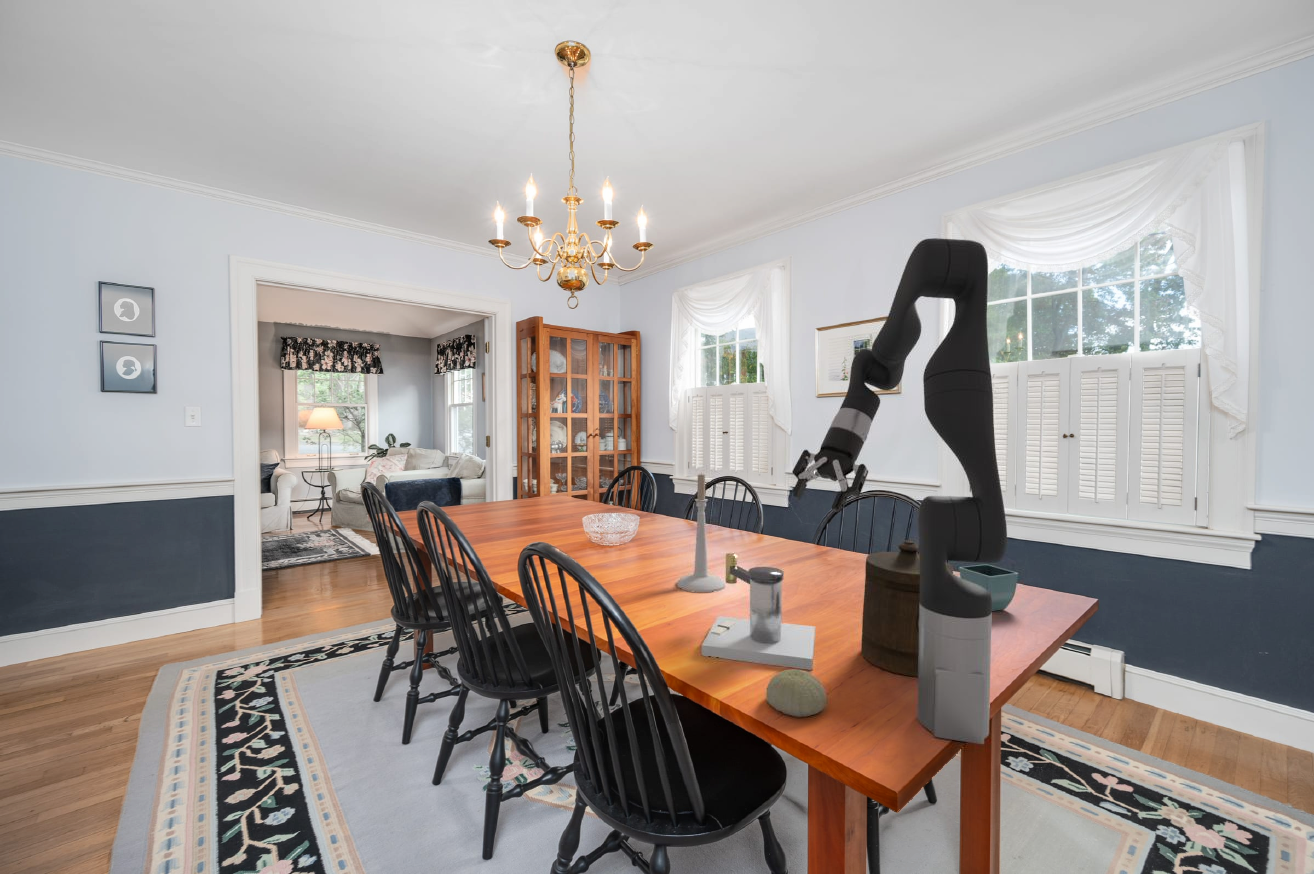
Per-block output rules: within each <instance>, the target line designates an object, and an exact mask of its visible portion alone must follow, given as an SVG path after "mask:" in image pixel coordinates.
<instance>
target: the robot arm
mask: <svg viewBox="0 0 1314 874" xmlns="http://www.w3.org/2000/svg"><path fill="white" fill-rule="evenodd" d="M988 286H989V262H988V255H987V251H986V248H985V246H984V244H982V242H979V241H978V240H971V239H956V238H955V239H954V238H953V239H951V238H940V237H938V238H937V237H935V238H934V237H933V238H926V239H923V240H921V241H919V242H918V243H917V244H916V245H915V246H914V249H913V250H912V252H911V254H910V255H909V258H908V259H907V262H906V264H905V266H904V269H903V272H902V275H901V278H900V281H899V283H898V285H897V289H896V292H895V295H894V298H893V301H892V304H891V306H890V310H889V313H888V315H887V318H886V319H885V322H883V323H884V324H883V325H882V327H881V328H880V330H879V332H878V334H877V335H876V337H875V339H874V340H873V342H872V346H871V348H867V347H866V348H863V349H861V350H859V351H858V352H857V353H856V354H855V356H854V357H853V359H852V361H851V367H850V376H849V383H848V388H847V392H846V394H845V397H844V398H843V401H842V403H841V406H840V408H839V409H838V412H837V413H836V414H835V416H834V418H833V420H832V421H831V424H830V426H829V428H828V430H827V433H826V434H825V436H824V438H823V441H822V443H821V445H820V449H819V451H818V452H817V453H816V454H815V453H813V452H810V451H809V450H808V449H803V451H802V453H801V455H800V456H799V458H798V460H797V462H796V463H795V464H794V468H793V469H792V474H793V475H794V477H795V478H796V479H797V481H796V483H795V486H794V487H793V490H792V493H793V497H794V498H795V499H796V500H801V499H802V497H803V495H804V493H805V491H806V488H807V486H808V483H810V482H811V481H813V480H817V479H819V478H820V477H821V478H822V479H829V480H831V481H833V482H837V481H838V483H839V484H838V485H839V488H840V490H838V492H837V494H836V496H835V498H834V501H833V502H832V505H831V509H832V511H834V512H836V513H838V512H839V511H842V510H843V509H844V507H845V504H846V503H847V500H848V498H849V496H855V497H859V496H860V495H861V493H862V490H863V488H864V485H865V483H866V480H867V477H868V474H869V470H868V468H867V466H866V464H864V463H860V464H856V462H857V459H858V458H859V456H860V453H861V451H862V449H863V447H864V444H865V442H866V441H867V439H868V436H869V433H870V431H871V426H872V424H873V420H874V418H875V417H876V415H877V412H878V410H879V408H880V405H881V398H880V396H879V395H878V394H877V393H876V392H875V391H873V390H872V389H870V388H869V387H868V386H867V385H869V386H872V387H874V388H876V389H879V390H881V391H891V390H893V389H895V388H896V387H898V385H899V384H901V383H900V382H901V381H902V378H903V375H904V371H905V364H906V363H905V362H906V359H907V357H908V356H909V355H910V353H911V352H912V351H913V349H914V348H915V346H916V344H917V343H918V341H919V340H920V338H921V333H922V322H921V317H920V315H919V313H918V309H917V306H916V302H917V300H919V298H922V297H925V298H933V299H934V298H937V299H951V300H953V302H954V304H955V307H954V308H955V311H954V318H953V323H952V325H951V327H950V329H949V331H948V332H947V334H946V335H945V337H944V338H943V340H941V343H940V344H939V345H938V347H937V348H936V349H935V351H934V352H933V354H932V355H931V357H930V358H929V360H928V361H927V363H926V365H925V369H924V371H923V377H922V378H923V379H922V381H923V398H924V399H923V402H924V403H923V404H924V412H925V415H926V417H927V419H928V421H929V424H931V426H932V428H933V429H934V430H935V432H936V433H937V434H938V435H939V437H940V438H941V439H942V441H943V442H944V443H945V444H946V445H947V447H948V448H949V449H950V450H951V452H952V453H953V454H954V456H955V457H956V458H957V460H958V461H959V464H960V465H961V467H962V469H963V470H964V472H965V475H966V477H967V481H968V483H969V487H970V491H971V495H972V496H954V495H953V496H952V495H929V496H926V497H924V498H923V499H922V501H921V503H920V505H919V509H918V516H917V517H918V518H917V520H918V521H917V525H918V527H917V528H918V543H919V544H918V547H919V548H918V551H919V553H918V554H919V555H920V597H919V648H918V677H917V719H918V722H919V723H920V724H921V725H922V726H923V727H924V728H925V729H927V730H929V732H931V733H932V734H933V736H934V737H935V738H940V739H946V740H952V741H959V742H965V743H966V742H967V743H971V744H972V743H973V744H979V745H984V744H985V739H987V738H988V737H989V735H990V710H991V709H990V707H991V705H990V702H991V701H990V700H991V699H990V698H991V654H992V620H993V619H992V615H993V613H992V612H993V611H992V598H991V595H990V593H989V592H988V591H987V590H986V589H984V588H983V587H981V586H979V585H977V584H974V583H972V582H969V581H967V580H964V579H962V578H960V576H958V575H956V574H954V573H953V574H952V573H951V572H949V571H948V570H947V569H946V562H947V561H950V562H965V563H978V564H979V563H980V564H996V563H999V562H1001V561H1002V560H1003V558H1004V557H1005V554H1006V550H1007V546H1008V545H1007V544H1008V531H1007V530H1008V529H1007V518H1006V513H1005V505H1004V500H1003V492H1002V487H1001V481H1000V474H999V473H1000V472H999V467H998V461H997V460H998V459H997V453H996V451H997V450H996V439H995V438H996V437H995V425H994V424H995V421H994V395H993V394H994V393H993V379H992V373H991V364H990V353H989V352H990V351H989V337H988V291H989V290H988V288H989V287H988ZM813 461H814V463H813ZM812 463H813V464H812ZM809 464H812V465H810V466H809ZM852 472H854V475H855V476H854V478H853V481H852V483H851V486H850V485H849V481H848V478H847V476H848V475H849V474H852Z"/></svg>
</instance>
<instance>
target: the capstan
mask: <svg viewBox="0 0 1314 874" xmlns="http://www.w3.org/2000/svg"><path fill="white" fill-rule="evenodd" d="M784 573H785V572H784V571H783V570H782V569H781V568H780V569H779V568H777V567H773V566H772V567H771V566H755V567H751V568H749V569H748V570H746V569H744V568H743V567H740V566H739V565H738V554H737V553H733V552H731V553H730V552H729V553H726V554H725V584H730V585H733V584H734V585H735V584H737V583H738V579H739V580H741V581H743V582H745V583H747V584H748V585H749V619H750V637H751V638H752V639H754V640H757V641H761V642H776V641H779V640H780V639H781V623H783V622H782V621H783V620H782V617H783V615H782V613H783V612H782V610H783V609H782V603H783V601H782V599H783V598H782V597H783V596H782V595H783V591H782V590H783V589H782V588H783V585H782V584H783V580H784Z"/></svg>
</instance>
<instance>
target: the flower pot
mask: <svg viewBox="0 0 1314 874" xmlns="http://www.w3.org/2000/svg"><path fill="white" fill-rule="evenodd" d="M958 569H959V575H960V576H959V578H962V579H964V580H967V581H969V582H972V583H974V584H977V585H979V586H981V587H983V588H984V589H986V590H987V591H988V592H989V593H990V595H991V598H992V612H995V611H1002V610H1005V609H1007V608H1008V606H1009V605H1010V604H1011V602H1012V601H1013V600H1014V596H1015V595H1016V590H1017V584H1018V579H1019V578H1018V577H1019V573H1018V572H1016V571H1012V570H1008V569H1005V568H1002V567H998V566H995V565H992V564H988V563H983V564H978V565H977V564H976V565H975V564H974V565H968V566H959V567H958Z"/></svg>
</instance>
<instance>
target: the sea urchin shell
mask: <svg viewBox="0 0 1314 874" xmlns="http://www.w3.org/2000/svg"><path fill="white" fill-rule="evenodd" d="M765 695H766V696H765V697H766V700H767V703H768V704H769V705H770V706H771V707H773V708H774V709H776V711H778V712H781V713H783V714H785V715H790V716H792V717H795V718H803V717H809V716H812V715H817V714H819V713H820V712H822V711H823V710H824V709H825V707H826V705H827V702H828V701H827V700H828V696H827V691H826V689H825V687H824V686H823V684H822V683H821V681H820V680H819V679H818V678H817V677H816V676H815V675H813V674H812V673H811V672H810V671H808V670H807V671H806V670H803V669H800V668H794V669H792V668H791V669H785V670H781V671H779V672H778V673H776V674H775V675H774V676H772V678H771V679H770V681H769V682H768V683H767V687H766V693H765Z"/></svg>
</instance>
